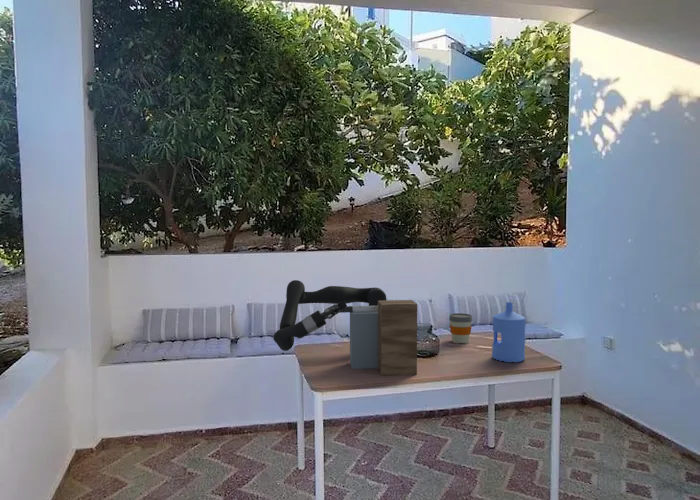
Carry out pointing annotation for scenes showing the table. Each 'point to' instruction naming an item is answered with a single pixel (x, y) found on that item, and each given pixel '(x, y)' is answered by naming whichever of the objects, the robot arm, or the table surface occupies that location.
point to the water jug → (509, 336)
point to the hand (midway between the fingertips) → (345, 303)
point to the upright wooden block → (397, 337)
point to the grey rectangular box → (364, 340)
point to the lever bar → (359, 309)
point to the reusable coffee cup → (460, 327)
